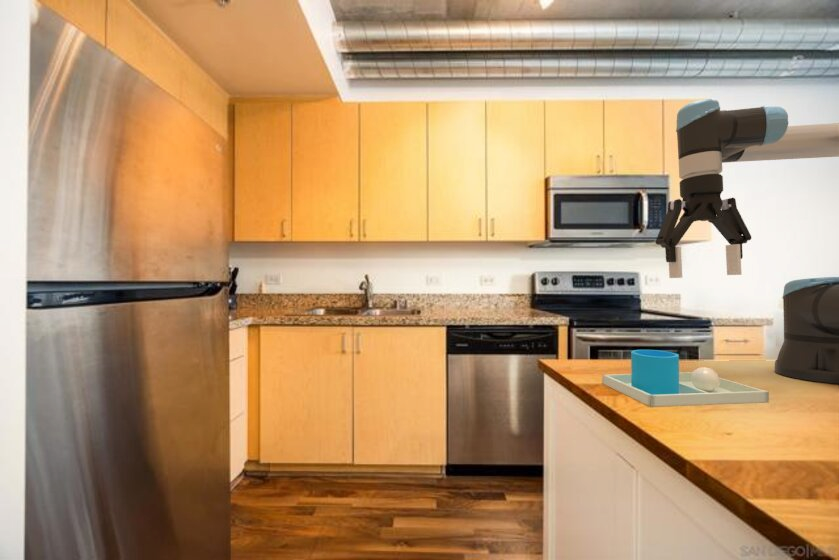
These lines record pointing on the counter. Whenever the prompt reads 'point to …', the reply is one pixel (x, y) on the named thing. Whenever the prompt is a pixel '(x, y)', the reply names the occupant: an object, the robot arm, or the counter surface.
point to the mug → (655, 371)
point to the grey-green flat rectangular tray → (689, 392)
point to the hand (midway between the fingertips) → (705, 276)
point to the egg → (705, 379)
